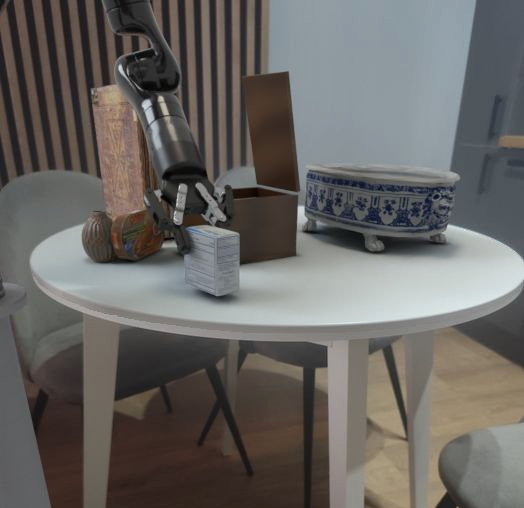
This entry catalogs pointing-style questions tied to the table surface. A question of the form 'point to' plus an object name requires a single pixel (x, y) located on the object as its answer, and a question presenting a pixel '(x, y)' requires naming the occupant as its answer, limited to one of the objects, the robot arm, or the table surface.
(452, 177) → the decorative bowl
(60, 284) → the table surface
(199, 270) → the medicine box
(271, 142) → the lid
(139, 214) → the tin
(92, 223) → the vase
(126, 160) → the book
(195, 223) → the chest
